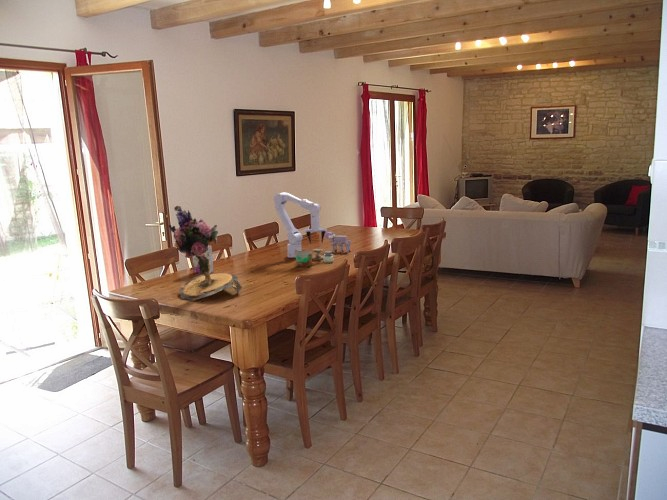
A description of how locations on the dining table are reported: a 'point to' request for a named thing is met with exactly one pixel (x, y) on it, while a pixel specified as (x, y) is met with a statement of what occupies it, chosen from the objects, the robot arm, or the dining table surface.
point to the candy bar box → (207, 255)
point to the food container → (303, 258)
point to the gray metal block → (328, 253)
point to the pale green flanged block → (328, 259)
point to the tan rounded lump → (318, 254)
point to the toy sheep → (338, 241)
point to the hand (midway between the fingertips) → (316, 242)
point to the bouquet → (199, 257)
